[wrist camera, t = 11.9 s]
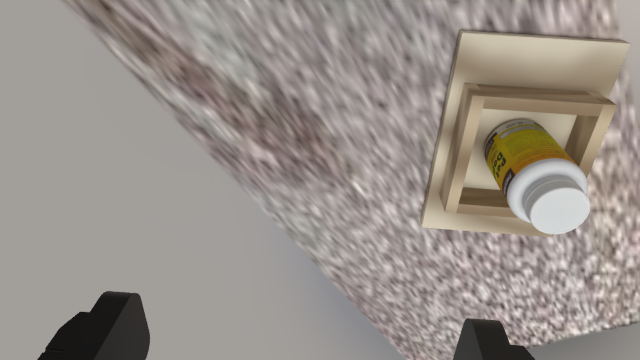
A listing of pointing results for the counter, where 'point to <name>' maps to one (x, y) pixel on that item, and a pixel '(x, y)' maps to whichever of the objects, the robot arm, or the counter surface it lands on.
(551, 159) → the supplement bottle
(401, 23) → the counter surface
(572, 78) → the cup caddy
